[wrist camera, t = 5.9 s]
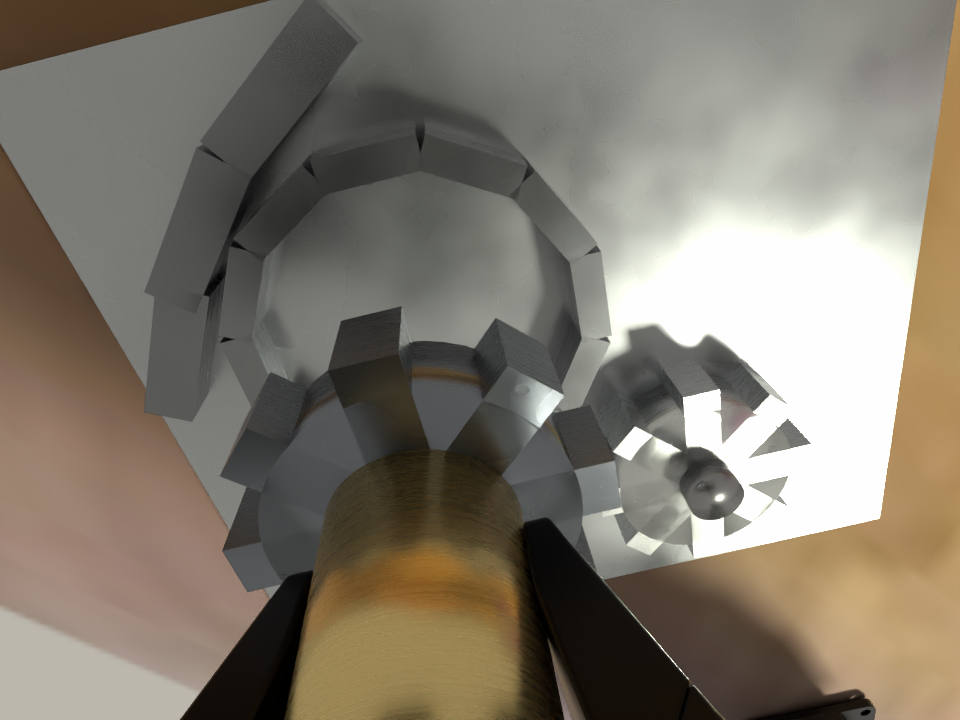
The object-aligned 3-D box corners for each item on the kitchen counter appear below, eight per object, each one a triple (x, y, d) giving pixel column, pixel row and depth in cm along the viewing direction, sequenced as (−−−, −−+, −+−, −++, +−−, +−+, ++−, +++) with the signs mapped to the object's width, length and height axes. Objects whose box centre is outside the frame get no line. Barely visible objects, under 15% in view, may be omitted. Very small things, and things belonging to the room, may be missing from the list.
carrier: (858, 495, 23) (931, 574, 20) (304, 620, 24) (286, 716, 21) (940, -169, 13) (1110, -232, 10) (-4, 75, 14) (-132, 92, 11)
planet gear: (613, 548, 13) (747, 916, 7) (318, 614, 13) (246, 1016, 8) (567, 265, 10) (743, 557, 4) (179, 360, 10) (-100, 746, 5)
